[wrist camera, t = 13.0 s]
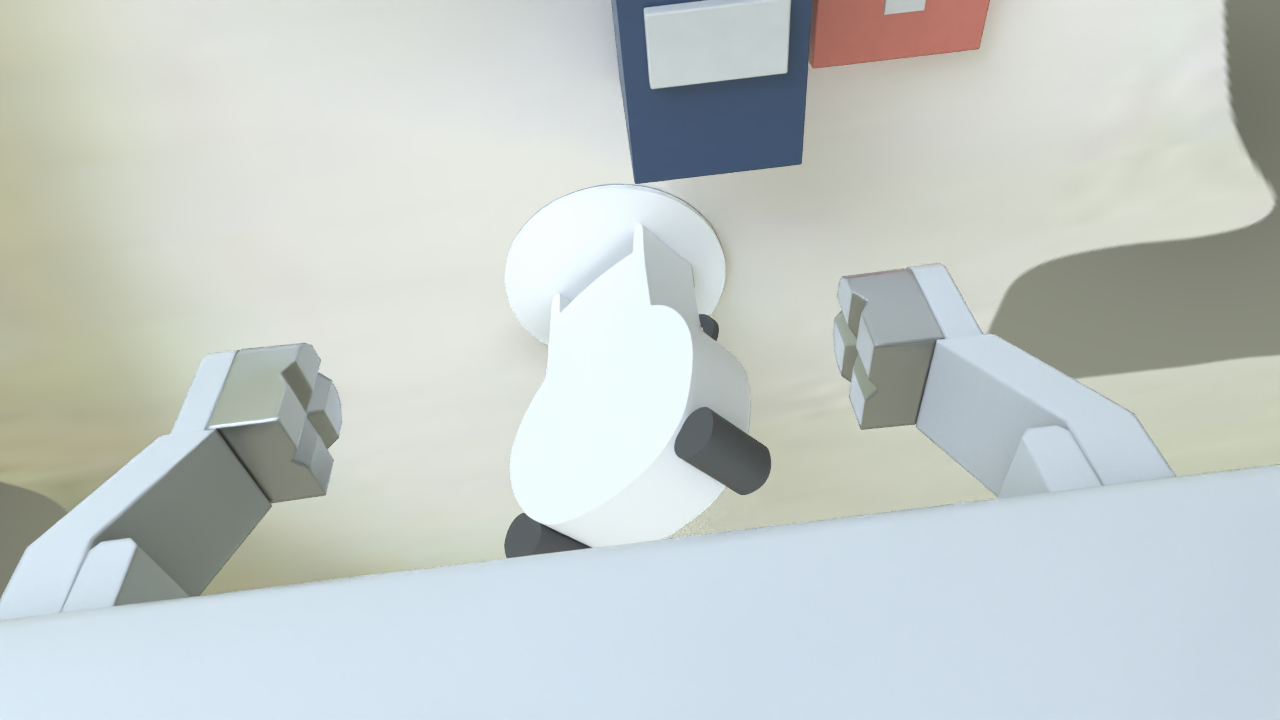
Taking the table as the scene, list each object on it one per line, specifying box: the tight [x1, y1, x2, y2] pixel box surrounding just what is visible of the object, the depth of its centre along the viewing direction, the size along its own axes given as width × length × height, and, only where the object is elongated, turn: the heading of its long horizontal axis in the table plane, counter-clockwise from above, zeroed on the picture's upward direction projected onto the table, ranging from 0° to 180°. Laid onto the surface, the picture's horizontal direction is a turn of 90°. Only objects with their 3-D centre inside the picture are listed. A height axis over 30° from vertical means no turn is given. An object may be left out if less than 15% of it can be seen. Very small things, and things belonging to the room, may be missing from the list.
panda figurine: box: [504, 185, 771, 558], centre depth 37 cm, size 12×11×15 cm
